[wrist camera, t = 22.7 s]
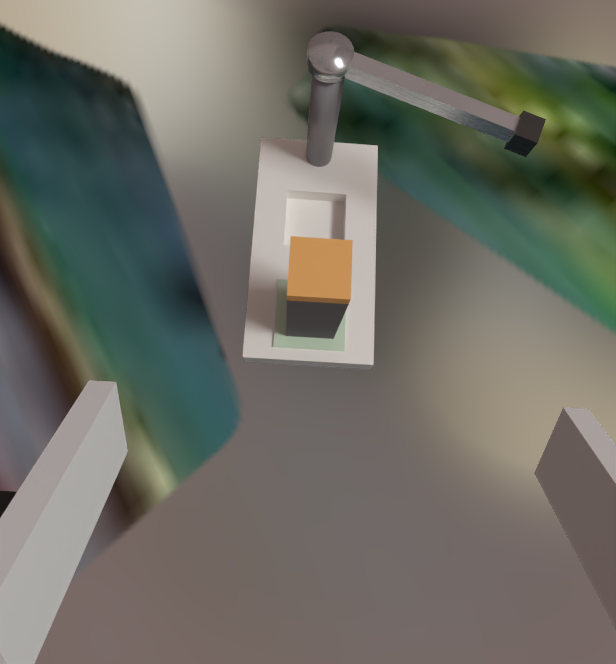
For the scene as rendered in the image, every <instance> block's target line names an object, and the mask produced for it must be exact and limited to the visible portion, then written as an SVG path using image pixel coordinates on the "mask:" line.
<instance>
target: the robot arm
mask: <svg viewBox="0 0 616 664" xmlns="http://www.w3.org/2000/svg"><path fill="white" fill-rule="evenodd" d="M127 452H128V450H127V444H126V438H125V432H124V426H123V420H122V414H121V409H120V403H119V397H118V391H117V385H116V382H108V381H90V380H89V381H88V383H87V384H86V386H85V387H84V389H83V391H82V392H81V394H80V395H79V397H78V398H77V400H76V401H75V403H74V405H73V406H72V408H71V409H70V411H69V412H68V414H67V415H66V417H65V419H64V420H63V422H62V423H61V425H60V426H59V428H58V429H57V431H56V432H55V434H54V436H53V437H52V439H51V440H50V442H49V443H48V445H47V446H46V448H45V450H44V451H43V453H42V454H41V456H40V457H39V459H38V460H37V462H36V464H35V465H34V467H33V468H32V470H31V471H30V473H29V474H28V476H27V477H26V479H25V481H24V482H23V484H22V485H21V487H20V488H19V490H18V491H17V492H9V491H0V664H34V663H35V661H36V659H37V657H38V654H39V652H40V650H41V647H42V645H43V643H44V641H45V638H46V636H47V634H48V632H49V629H50V627H51V625H52V622H53V620H54V618H55V616H56V613H57V611H58V609H59V607H60V604H61V602H62V600H63V598H64V595H65V593H66V591H67V588H68V586H69V584H70V582H71V579H72V577H73V575H74V573H75V570H76V568H77V566H78V563H79V561H80V559H81V557H82V554H83V552H84V550H85V548H86V545H87V543H88V541H89V538H90V536H91V534H92V532H93V529H94V527H95V525H96V523H97V520H98V518H99V516H100V513H101V511H102V509H103V507H104V504H105V502H106V500H107V498H108V495H109V493H110V491H111V488H112V486H113V484H114V482H115V479H116V477H117V475H118V473H119V470H120V468H121V466H122V463H123V461H124V459H125V457H126V454H127ZM535 475H536V477H537V479H538V481H539V483H540V484H541V487H542V488H543V490H544V492H545V494H546V496H547V498H548V500H549V502H550V504H551V506H552V508H553V510H554V512H555V514H556V515H557V517H558V519H559V521H560V523H561V525H562V527H563V529H564V531H565V533H566V535H567V537H568V539H569V540H570V542H571V544H572V546H573V548H574V550H575V552H576V554H577V556H578V558H579V560H580V562H581V564H582V565H583V568H584V569H585V572H586V574H587V575H588V577H589V579H590V581H591V583H592V585H593V587H594V589H595V591H596V593H597V595H598V597H599V599H600V601H601V602H602V604H603V606H604V608H605V610H606V612H607V614H608V616H609V618H610V620H611V622H612V624H613V626H614V628H615V629H616V445H615V443H614V442H613V441H612V440H611V438H610V437H609V435H608V434H607V433H606V431H605V430H604V429H603V427H602V426H601V425H600V423H599V422H598V421H597V419H596V418H595V417H594V416H593V414H592V413H591V411H590V410H589V409H581V408H563V409H562V412H561V414H560V416H559V418H558V421H557V423H556V425H555V427H554V430H553V432H552V434H551V437H550V439H549V441H548V443H547V446H546V448H545V450H544V452H543V455H542V457H541V459H540V462H539V464H538V466H537V468H536V471H535Z"/></svg>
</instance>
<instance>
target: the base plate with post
mask: <svg viewBox="0 0 616 664" xmlns="http://www.w3.org/2000/svg"><path fill="white" fill-rule="evenodd" d="M343 84H344V79H343V80H342V81H339V82H336V83H325V82H321V81H319V80H317V79H316V78H314V77H313V76H312V81H311V95H310V108H309V122H308V136H307V140H294V139H281V138H267V137H261V145H260V156H259V168H258V181H257V192H256V203H255V216H254V227H253V239H252V250H251V262H250V274H249V285H248V298H247V309H246V321H245V332H244V344H243V356H242V357H243V359H244V362H245V363H246V362H247V363H262V364H279V365H296V366H314V367H330V368H331V367H332V368H348V369H364V370H369V369H370V368H371V367H372V366H373V365H374V363H373V362H374V313H375V312H374V311H375V261H376V260H375V258H376V209H377V208H376V206H377V157H378V146H374V145H361V144H348V143H334V140H335V133H336V127H337V121H338V115H339V109H340V102H341V96H342V90H343ZM291 236H296V237H311V238H326V239H341V240H353V245H352V279H351V300H350V303H349V305H348V307H347V309H346V312H345V314H344V316H343V319H342V321H341V323H340V325H339V328H338V330H337V332H336V334H335V337H334V339H327V338H310V337H293V336H286V318H287V285H288V270H289V254H290V238H291Z"/></svg>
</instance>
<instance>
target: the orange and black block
mask: <svg viewBox="0 0 616 664" xmlns="http://www.w3.org/2000/svg"><path fill="white" fill-rule="evenodd" d="M352 245H353V240H341V239H326V238H311V237H296V236H291V238H290V254H289V270H288V285H287V318H286V336H293V337H310V338H327V339H334V337H335V334H336V332H337V330H338V328H339V325H340V323H341V321H342V319H343V316H344V314H345V312H346V309H347V307H348V305H349V303H350V300H351V279H352Z"/></svg>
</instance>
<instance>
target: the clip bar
mask: <svg viewBox="0 0 616 664" xmlns="http://www.w3.org/2000/svg"><path fill="white" fill-rule="evenodd" d="M307 67H308V70H309V72H310V74H311V75H312V76H313V77H314V78H316V79H317V80H319V81H321V82H325V83H336V82H339V81H342V80H343V79H345V78H346V79H349V80H351V81H354V82H357V83H359V84H362V85H364V86H367V87H369V88H372V89H374V90H377V91H379V92H382V93H384V94H387V95H389V96H392V97H394V98H397V99H399V100H402V101H404V102H407V103H409V104H412V105H415V106H417V107H420V108H422V109H425V110H427V111H430V112H432V113H435V114H437V115H440V116H442V117H445V118H447V119H450V120H452V121H455V122H457V123H460V124H462V125H465V126H468V127H470V128H473V129H475V130H478V131H480V132H483V133H485V134H488V135H490V136H493V137H495V138H498V139H500V140H503V141H505V142H506V145H505V148H504V149H507V150H509V151H512V152H514V153H517V154H519V155H522V156H524V157H526V156H527V155H528V154H529V153H530V151H531V150H532V149H533V148H534V146H535V145H536V144H537V143H538V140H539V137H540V134H541V131H542V128H543V126H544V123H545V120H546V119H543V118H541V117H538V116H536V115H533V114H531V113H528V112H526V111H523V112H522V113H521V115H520V116H519V117H518V116H516V115H513V114H511V113H508V112H506V111H503V110H501V109H498V108H496V107H493V106H490V105H488V104H485V103H483V102H480V101H478V100H475V99H473V98H470V97H468V96H465V95H462V94H460V93H457V92H455V91H452V90H450V89H447V88H445V87H442V86H440V85H437V84H434V83H432V82H429V81H427V80H424V79H422V78H419V77H417V76H414V75H412V74H409V73H406V72H404V71H401V70H399V69H396V68H394V67H391V66H389V65H386V64H384V63H381V62H379V61H376V60H373V59H371V58H368V57H366V56H363V55H361V54H358V53H356V52H354V48H353V45H352V43H351V42H350V40H349V39H348V38H347V37H345V36H344V35H342V34H340V33H337V32H331V31H328V32H322V33H319V34H317V35H316V36H314V37H313V38H312V39H311V41H310V43H309V45H308V53H307Z"/></svg>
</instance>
